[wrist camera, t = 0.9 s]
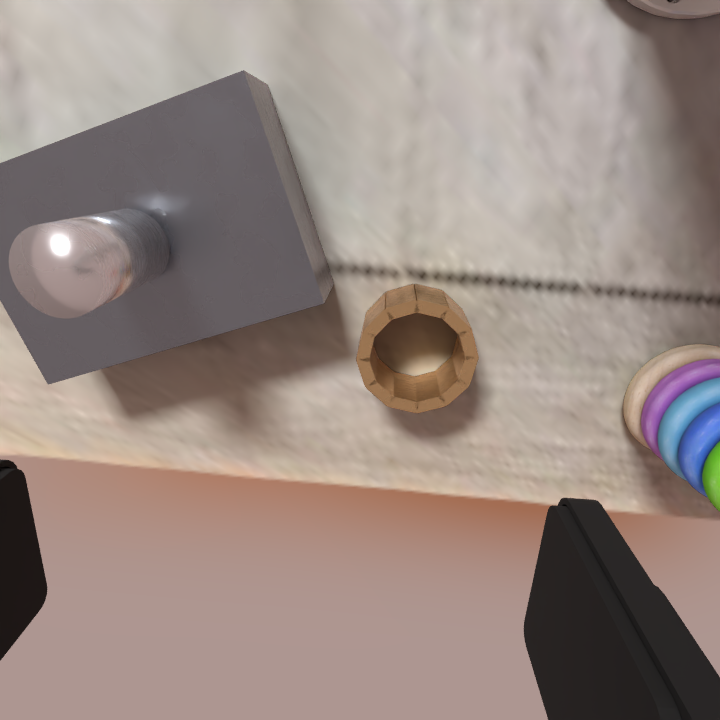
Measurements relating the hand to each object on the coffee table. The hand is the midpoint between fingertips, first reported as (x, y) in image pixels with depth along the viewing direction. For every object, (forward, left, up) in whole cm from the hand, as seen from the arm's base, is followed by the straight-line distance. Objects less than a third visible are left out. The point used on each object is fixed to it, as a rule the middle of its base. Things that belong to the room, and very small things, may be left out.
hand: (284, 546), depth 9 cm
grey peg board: (+11, -6, -25) cm, 28 cm away
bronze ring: (-2, +5, -25) cm, 26 cm away
